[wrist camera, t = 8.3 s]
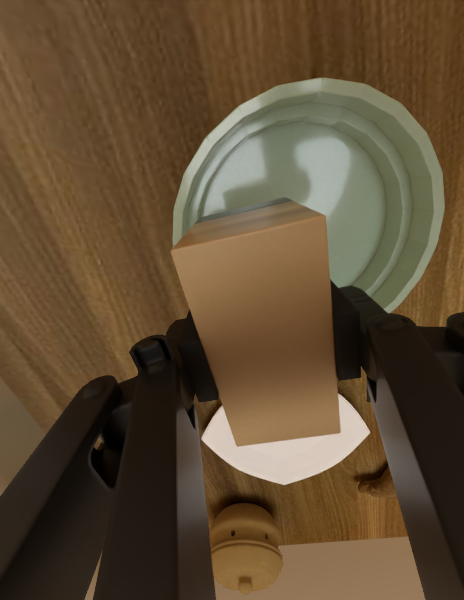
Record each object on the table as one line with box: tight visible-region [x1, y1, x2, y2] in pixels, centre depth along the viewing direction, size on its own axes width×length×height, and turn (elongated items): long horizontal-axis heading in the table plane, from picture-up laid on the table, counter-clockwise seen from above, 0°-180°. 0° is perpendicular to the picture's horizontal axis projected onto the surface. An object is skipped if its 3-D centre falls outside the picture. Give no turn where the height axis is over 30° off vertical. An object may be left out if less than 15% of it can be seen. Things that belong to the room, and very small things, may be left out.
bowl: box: [173, 77, 445, 313], centre depth 22 cm, size 19×19×6 cm
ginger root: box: [358, 466, 397, 498], centre depth 39 cm, size 10×10×4 cm
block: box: [171, 197, 341, 447], centre depth 12 cm, size 9×4×6 cm, turn 13°
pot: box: [209, 503, 283, 594], centre depth 41 cm, size 12×12×10 cm
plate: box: [201, 393, 370, 485], centre depth 35 cm, size 19×19×2 cm
